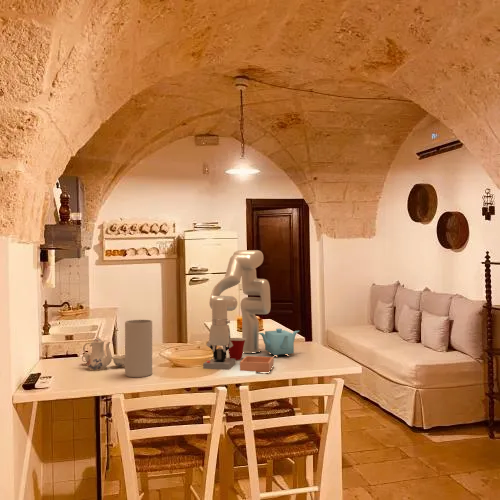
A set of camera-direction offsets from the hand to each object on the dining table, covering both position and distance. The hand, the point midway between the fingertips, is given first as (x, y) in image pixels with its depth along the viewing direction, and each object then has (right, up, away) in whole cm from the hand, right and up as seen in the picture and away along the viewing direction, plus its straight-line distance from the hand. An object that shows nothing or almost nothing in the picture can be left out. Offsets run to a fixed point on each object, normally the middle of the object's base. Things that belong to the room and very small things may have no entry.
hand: (219, 359), depth 241 cm
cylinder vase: (-37, -5, -13) cm, 40 cm away
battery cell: (0, -3, 0) cm, 3 cm away
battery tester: (0, -4, 0) cm, 4 cm away
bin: (+19, -4, -4) cm, 20 cm away
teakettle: (+32, -5, +30) cm, 44 cm away
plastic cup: (+8, -5, +17) cm, 19 cm away
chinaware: (-60, -5, +3) cm, 60 cm away
